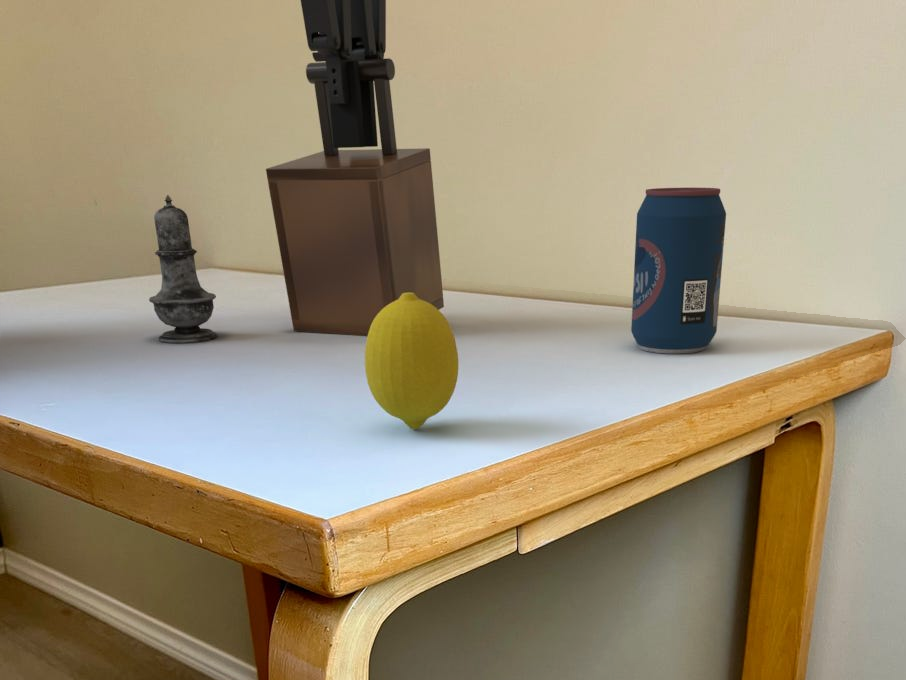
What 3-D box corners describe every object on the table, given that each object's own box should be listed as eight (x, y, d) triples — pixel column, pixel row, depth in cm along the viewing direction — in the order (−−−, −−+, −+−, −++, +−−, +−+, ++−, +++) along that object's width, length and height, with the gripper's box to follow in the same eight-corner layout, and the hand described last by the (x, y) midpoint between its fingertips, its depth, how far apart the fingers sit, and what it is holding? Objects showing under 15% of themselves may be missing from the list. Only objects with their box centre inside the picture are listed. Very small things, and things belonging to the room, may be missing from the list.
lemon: (477, 424, 62) (474, 288, 59) (424, 446, 58) (417, 301, 55) (406, 414, 65) (399, 283, 61) (351, 434, 61) (339, 295, 57)
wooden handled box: (293, 331, 95) (347, 302, 102) (396, 337, 90) (444, 306, 98) (248, 72, 83) (312, 60, 90) (364, 65, 79) (421, 54, 86)
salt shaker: (179, 331, 96) (159, 193, 90) (233, 333, 94) (215, 193, 89) (141, 342, 91) (117, 197, 86) (197, 344, 89) (176, 196, 84)
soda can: (617, 342, 86) (624, 188, 80) (692, 337, 87) (703, 186, 82) (651, 357, 80) (660, 192, 74) (730, 351, 81) (745, 189, 76)
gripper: (321, -224, 71) (350, 148, 82) (415, -175, 83) (430, 144, 94) (233, -207, 74) (273, 150, 85) (337, -162, 86) (360, 146, 96)
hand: (355, 146), depth 89 cm, fingers closed on wooden handled box, 2 cm apart
